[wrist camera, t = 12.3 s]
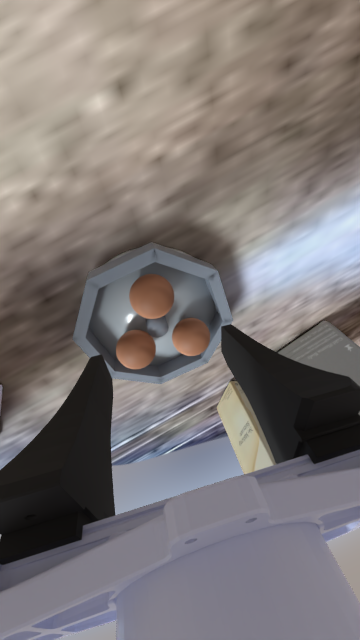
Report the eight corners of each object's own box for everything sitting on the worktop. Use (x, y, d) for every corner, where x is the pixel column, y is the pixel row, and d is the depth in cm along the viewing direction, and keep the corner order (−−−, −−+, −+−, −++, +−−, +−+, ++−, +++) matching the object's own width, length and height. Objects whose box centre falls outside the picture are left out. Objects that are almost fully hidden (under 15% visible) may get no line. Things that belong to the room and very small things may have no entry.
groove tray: (187, 372, 30) (192, 387, 28) (68, 354, 24) (64, 372, 22) (242, 273, 24) (254, 284, 22) (100, 220, 18) (98, 228, 16)
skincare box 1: (229, 379, 32) (278, 472, 23) (256, 379, 34) (313, 467, 24) (215, 408, 36) (253, 502, 26) (240, 407, 37) (285, 495, 27)
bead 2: (144, 351, 26) (152, 378, 23) (109, 348, 24) (113, 377, 21) (156, 324, 24) (166, 350, 21) (119, 319, 22) (126, 346, 19)
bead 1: (160, 309, 23) (169, 331, 20) (122, 300, 21) (125, 322, 18) (175, 274, 21) (186, 292, 18) (135, 261, 20) (140, 279, 17)
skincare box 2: (324, 317, 30) (480, 432, 17) (337, 346, 34) (472, 456, 21) (268, 355, 32) (373, 485, 19) (287, 378, 36) (384, 499, 23)
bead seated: (194, 343, 26) (204, 366, 23) (163, 336, 25) (170, 361, 22) (209, 315, 25) (222, 336, 21) (177, 306, 23) (186, 328, 20)
